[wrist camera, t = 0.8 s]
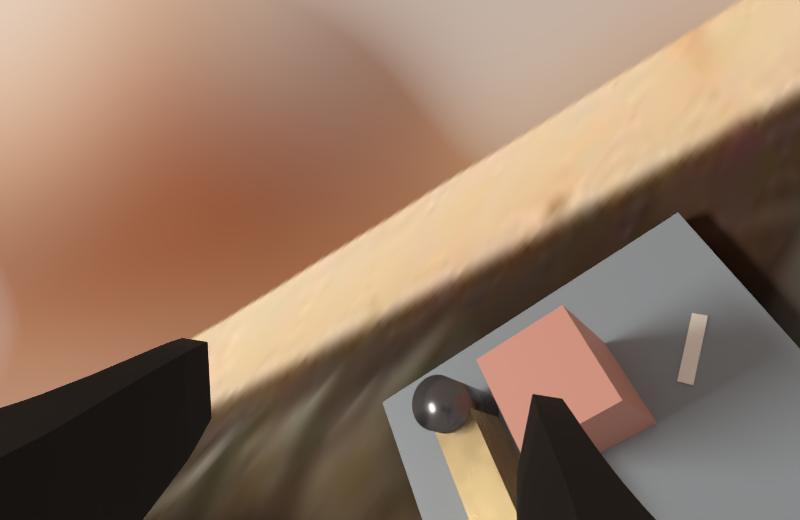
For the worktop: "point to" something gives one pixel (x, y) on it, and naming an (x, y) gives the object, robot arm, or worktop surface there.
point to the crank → (471, 445)
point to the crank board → (660, 386)
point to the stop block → (565, 379)
